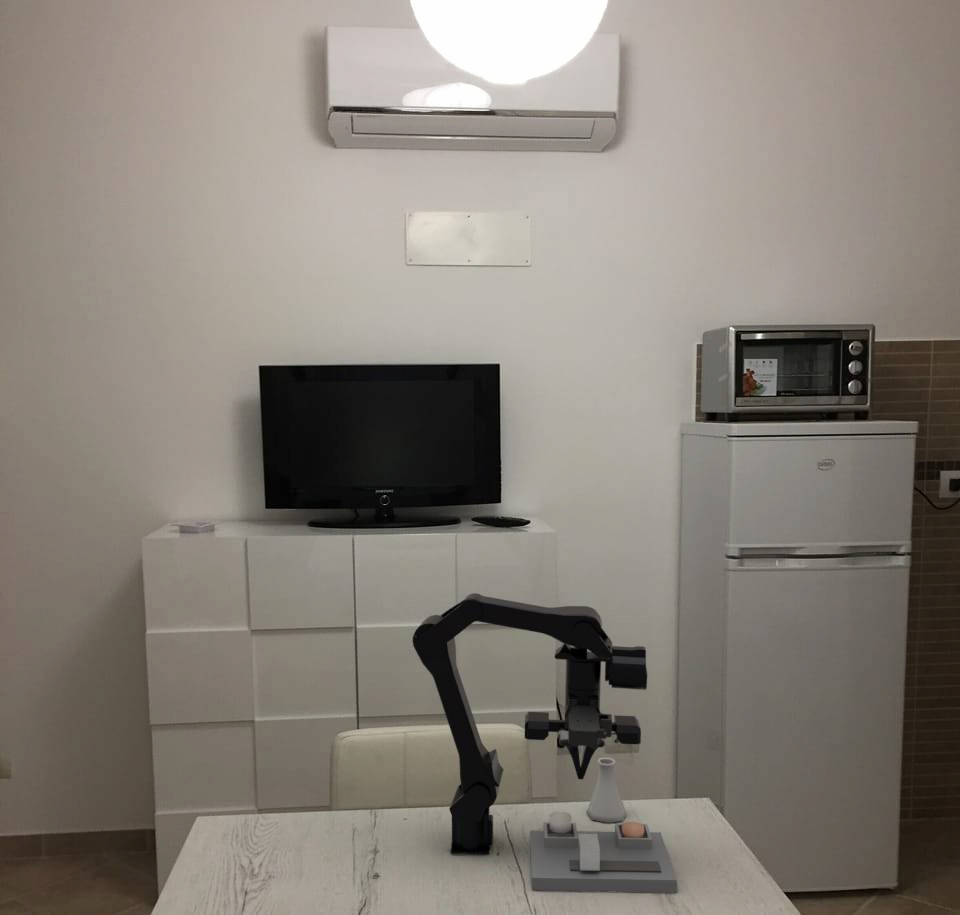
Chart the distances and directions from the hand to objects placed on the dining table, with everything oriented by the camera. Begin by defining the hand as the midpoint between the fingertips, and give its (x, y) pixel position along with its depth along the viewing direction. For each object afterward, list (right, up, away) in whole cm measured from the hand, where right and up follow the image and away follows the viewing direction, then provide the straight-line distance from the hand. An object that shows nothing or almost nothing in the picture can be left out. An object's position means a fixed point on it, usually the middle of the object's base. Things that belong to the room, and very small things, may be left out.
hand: (580, 778), depth 144 cm
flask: (+6, -12, +14) cm, 20 cm away
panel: (+3, -13, -4) cm, 14 cm away
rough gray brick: (0, -10, -8) cm, 13 cm away
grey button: (-3, -9, +1) cm, 9 cm away
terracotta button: (+9, -10, +1) cm, 13 cm away
